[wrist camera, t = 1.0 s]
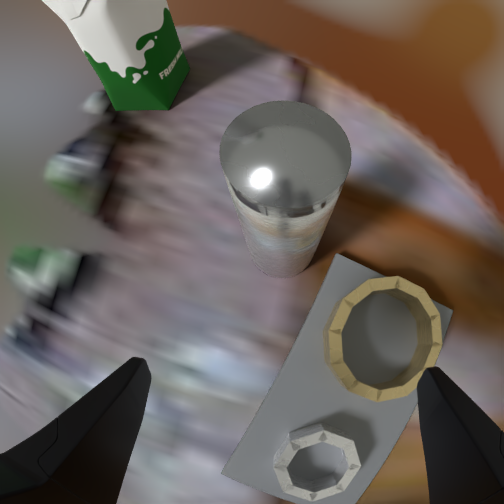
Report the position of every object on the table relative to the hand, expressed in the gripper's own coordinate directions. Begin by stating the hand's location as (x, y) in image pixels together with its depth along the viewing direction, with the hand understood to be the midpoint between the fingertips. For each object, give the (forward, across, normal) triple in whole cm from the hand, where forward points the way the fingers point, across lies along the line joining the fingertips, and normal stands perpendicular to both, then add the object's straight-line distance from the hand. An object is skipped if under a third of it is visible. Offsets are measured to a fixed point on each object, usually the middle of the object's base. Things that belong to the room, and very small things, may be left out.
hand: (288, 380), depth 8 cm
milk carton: (+28, +15, -10) cm, 33 cm away
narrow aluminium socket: (+4, -3, +15) cm, 16 cm away
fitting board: (+7, -5, +12) cm, 15 cm away
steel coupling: (+15, 0, +3) cm, 16 cm away
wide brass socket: (+10, -7, +8) cm, 15 cm away
